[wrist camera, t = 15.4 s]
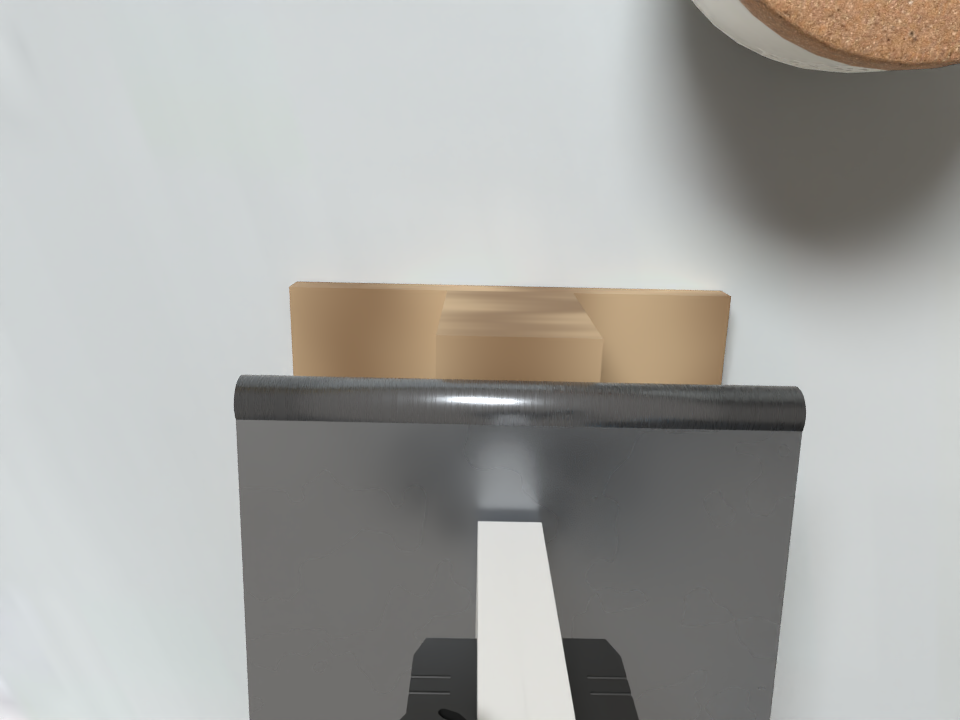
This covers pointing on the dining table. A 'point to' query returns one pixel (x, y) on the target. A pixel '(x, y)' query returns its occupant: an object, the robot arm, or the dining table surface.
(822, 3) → the lidded jar
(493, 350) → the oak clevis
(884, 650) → the dining table surface
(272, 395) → the plate
